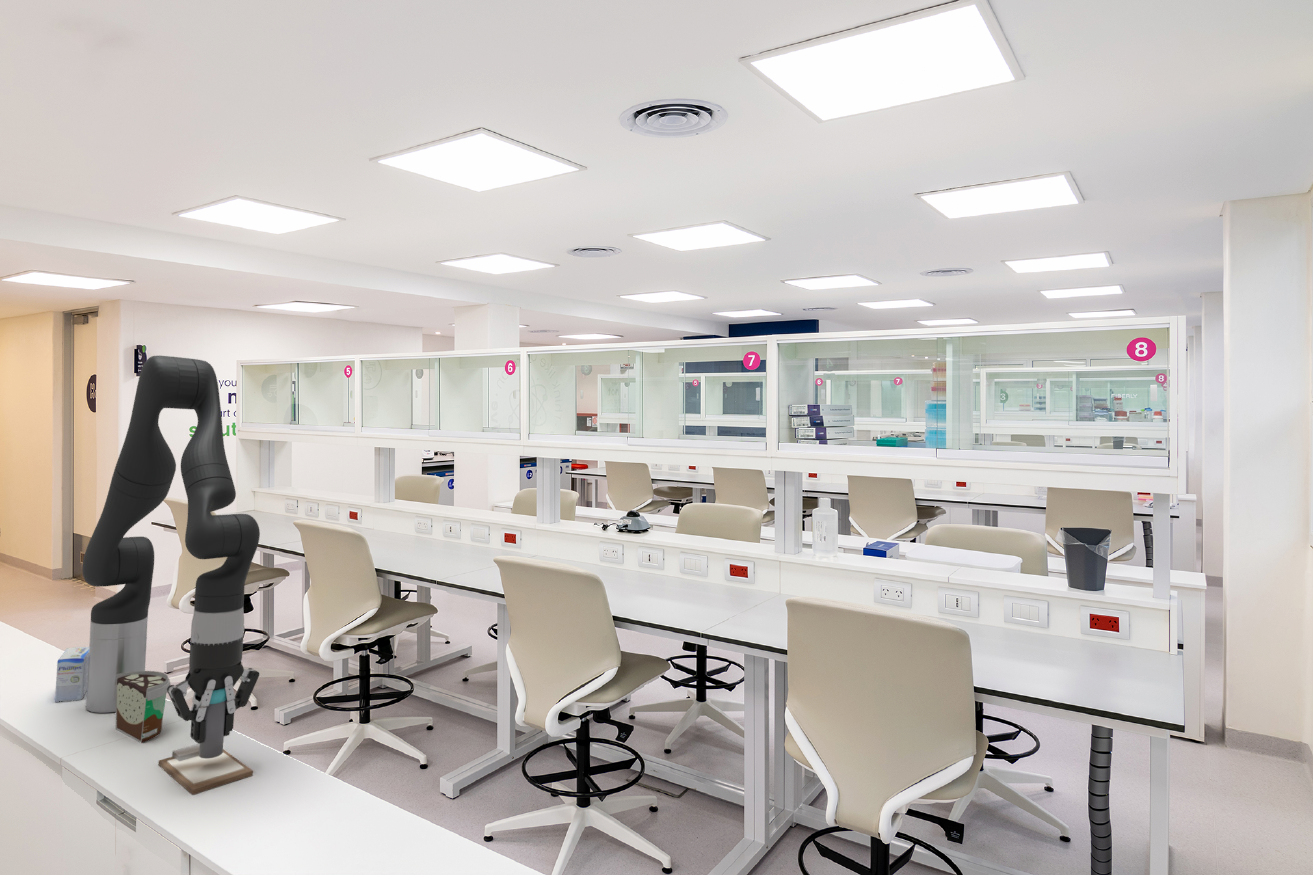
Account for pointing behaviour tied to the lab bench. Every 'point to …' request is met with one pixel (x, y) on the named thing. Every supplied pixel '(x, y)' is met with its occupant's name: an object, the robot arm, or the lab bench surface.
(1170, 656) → the lab bench surface
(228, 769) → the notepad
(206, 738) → the marker
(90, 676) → the robot arm
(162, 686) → the food container
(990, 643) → the lab bench surface
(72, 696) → the medicine box
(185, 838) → the lab bench surface
